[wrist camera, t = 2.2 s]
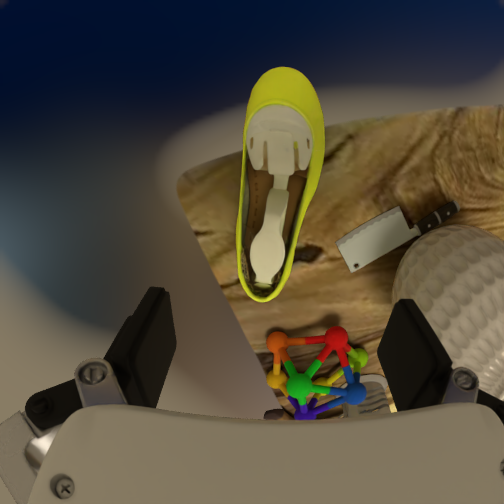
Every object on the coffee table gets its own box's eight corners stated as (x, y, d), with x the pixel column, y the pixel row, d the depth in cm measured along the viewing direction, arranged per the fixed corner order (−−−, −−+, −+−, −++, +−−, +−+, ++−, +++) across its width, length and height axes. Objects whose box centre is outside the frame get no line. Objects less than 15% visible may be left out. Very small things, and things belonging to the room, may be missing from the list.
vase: (422, 175, 28) (571, 265, 8) (486, 243, 31) (584, 337, 11) (345, 281, 34) (401, 443, 14) (420, 326, 37) (479, 446, 17)
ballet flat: (332, 77, 25) (344, 57, 17) (298, 285, 34) (297, 326, 27) (254, 67, 25) (240, 44, 18) (232, 274, 35) (215, 312, 28)
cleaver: (333, 238, 33) (351, 272, 34) (334, 242, 32) (353, 277, 33) (443, 174, 28) (457, 209, 29) (449, 175, 27) (462, 211, 28)
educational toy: (266, 447, 30) (301, 366, 26) (250, 381, 42) (271, 301, 38) (365, 433, 34) (414, 358, 29) (335, 379, 46) (367, 307, 41)
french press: (376, 404, 46) (401, 516, 23) (320, 407, 46) (330, 530, 24) (395, 372, 42) (434, 498, 19) (334, 375, 42) (355, 519, 20)
